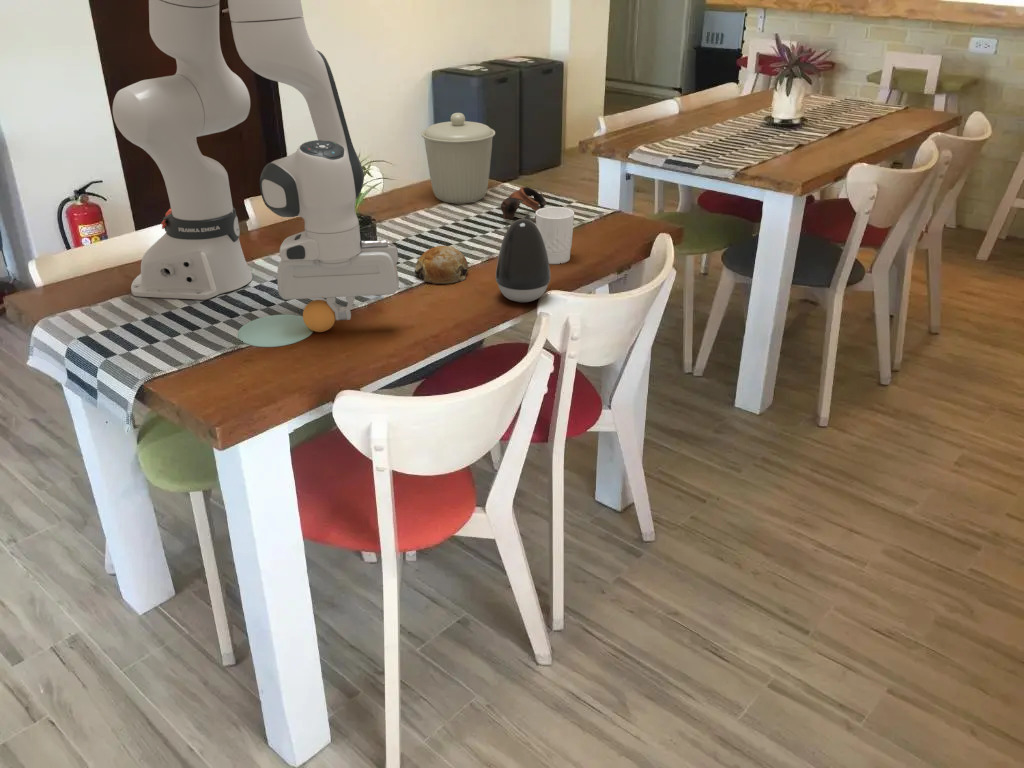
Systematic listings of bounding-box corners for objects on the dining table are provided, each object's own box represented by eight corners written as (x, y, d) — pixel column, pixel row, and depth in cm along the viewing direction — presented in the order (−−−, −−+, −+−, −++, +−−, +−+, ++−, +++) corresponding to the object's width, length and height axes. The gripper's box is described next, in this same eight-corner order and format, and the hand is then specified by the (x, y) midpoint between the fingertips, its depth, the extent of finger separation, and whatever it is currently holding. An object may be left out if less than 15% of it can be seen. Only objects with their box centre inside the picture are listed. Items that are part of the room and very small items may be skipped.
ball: (321, 343, 152) (293, 325, 150) (328, 328, 156) (300, 310, 155) (338, 321, 149) (310, 302, 147) (344, 306, 154) (317, 288, 152)
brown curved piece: (514, 211, 215) (531, 183, 211) (539, 235, 212) (557, 207, 207) (484, 210, 205) (501, 181, 201) (510, 236, 202) (528, 206, 198)
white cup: (578, 263, 182) (579, 216, 177) (541, 267, 180) (542, 220, 175) (565, 250, 188) (566, 205, 184) (530, 254, 186) (530, 208, 182)
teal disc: (230, 348, 147) (230, 347, 147) (246, 316, 158) (246, 315, 158) (309, 345, 148) (309, 344, 148) (319, 314, 159) (318, 313, 159)
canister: (471, 213, 212) (468, 124, 202) (410, 202, 220) (405, 115, 210) (509, 194, 225) (508, 110, 215) (450, 184, 233) (447, 102, 223)
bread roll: (451, 303, 173) (467, 270, 169) (405, 279, 172) (419, 245, 168) (464, 285, 181) (479, 252, 177) (419, 262, 181) (434, 229, 177)
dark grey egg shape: (553, 288, 170) (554, 211, 163) (546, 309, 161) (547, 229, 154) (501, 285, 171) (500, 209, 164) (491, 306, 162) (490, 226, 155)
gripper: (397, 233, 149) (404, 308, 156) (276, 239, 148) (287, 314, 155) (395, 245, 144) (402, 323, 150) (269, 251, 143) (281, 329, 149)
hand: (343, 318), depth 152 cm, fingers closed
